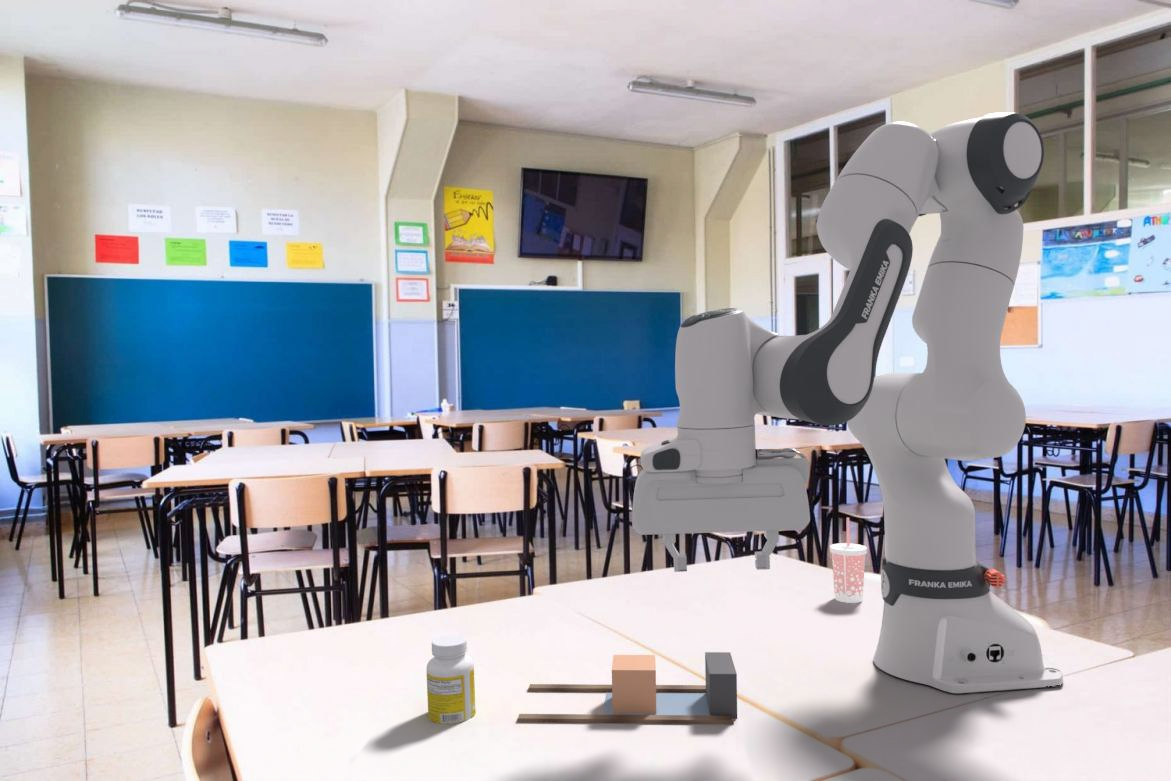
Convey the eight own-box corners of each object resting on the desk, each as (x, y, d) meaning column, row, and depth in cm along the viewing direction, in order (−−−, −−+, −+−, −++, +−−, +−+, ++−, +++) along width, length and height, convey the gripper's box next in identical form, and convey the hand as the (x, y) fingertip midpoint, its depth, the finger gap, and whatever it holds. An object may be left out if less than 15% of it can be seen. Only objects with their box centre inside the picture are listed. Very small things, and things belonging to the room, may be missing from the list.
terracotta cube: (655, 696, 100) (655, 655, 100) (656, 713, 95) (655, 670, 95) (614, 695, 101) (613, 654, 101) (612, 713, 96) (611, 670, 96)
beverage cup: (871, 596, 144) (870, 516, 144) (862, 606, 139) (861, 522, 139) (835, 592, 148) (834, 513, 147) (825, 601, 143) (824, 519, 142)
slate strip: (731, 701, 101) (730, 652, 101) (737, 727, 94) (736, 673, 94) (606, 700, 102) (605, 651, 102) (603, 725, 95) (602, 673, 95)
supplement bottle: (453, 710, 101) (451, 629, 100) (485, 722, 97) (483, 638, 97) (418, 726, 96) (415, 641, 96) (450, 739, 93) (447, 651, 93)
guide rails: (725, 698, 102) (725, 685, 102) (734, 734, 92) (733, 720, 92) (530, 696, 104) (530, 684, 104) (518, 732, 94) (517, 718, 94)
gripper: (803, 444, 99) (807, 560, 99) (629, 450, 100) (634, 565, 101) (814, 450, 93) (818, 574, 93) (628, 457, 94) (634, 579, 95)
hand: (721, 569), depth 97 cm, fingers open, 8 cm apart
